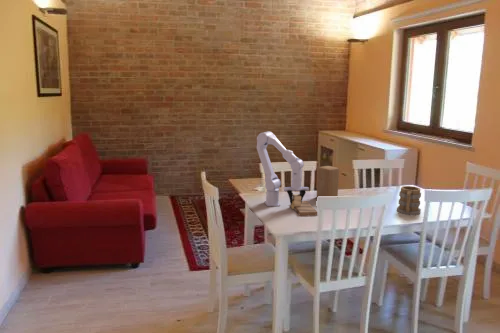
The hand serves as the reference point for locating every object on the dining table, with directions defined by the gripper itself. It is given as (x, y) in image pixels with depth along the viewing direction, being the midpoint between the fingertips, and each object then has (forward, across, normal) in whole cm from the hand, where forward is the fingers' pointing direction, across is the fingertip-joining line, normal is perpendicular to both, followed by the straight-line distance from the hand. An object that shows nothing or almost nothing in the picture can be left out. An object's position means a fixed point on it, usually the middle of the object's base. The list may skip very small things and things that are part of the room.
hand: (295, 202), depth 262 cm
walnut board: (+3, +4, -3) cm, 6 cm away
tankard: (+4, +63, -14) cm, 65 cm away
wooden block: (+4, +26, +21) cm, 34 cm away
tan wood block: (+3, 0, 0) cm, 3 cm away
